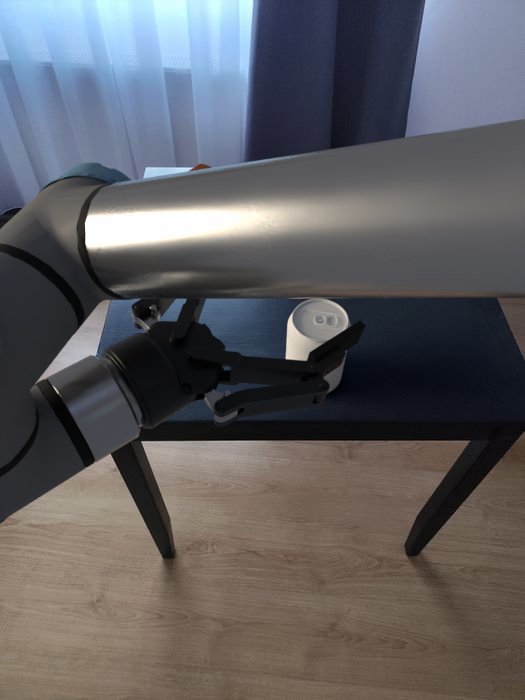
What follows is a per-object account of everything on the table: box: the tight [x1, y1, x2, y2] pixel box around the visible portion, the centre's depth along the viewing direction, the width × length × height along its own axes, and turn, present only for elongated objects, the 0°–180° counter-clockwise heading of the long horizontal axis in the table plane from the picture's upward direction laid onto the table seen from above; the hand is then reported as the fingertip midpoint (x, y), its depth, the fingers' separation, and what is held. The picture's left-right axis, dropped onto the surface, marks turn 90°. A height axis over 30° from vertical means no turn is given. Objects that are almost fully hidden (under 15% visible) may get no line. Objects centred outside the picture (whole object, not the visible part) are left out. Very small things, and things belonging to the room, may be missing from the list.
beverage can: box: [285, 298, 352, 394], centre depth 64 cm, size 8×8×12 cm
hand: (311, 287), depth 48 cm, fingers open, 13 cm apart
